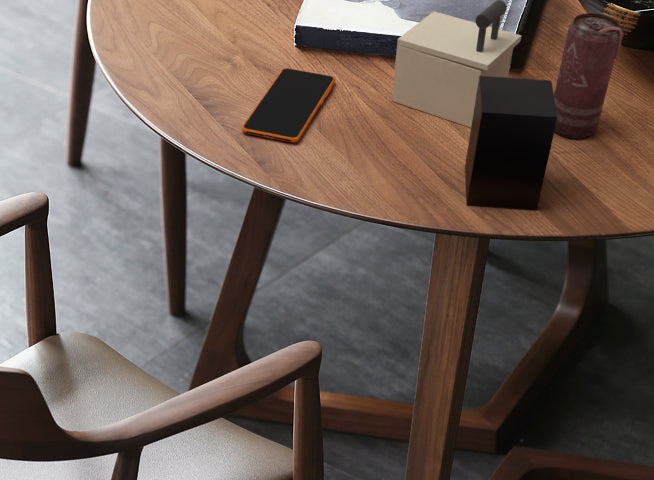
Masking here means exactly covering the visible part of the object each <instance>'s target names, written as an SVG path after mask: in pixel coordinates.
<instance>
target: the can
mask: <svg viewBox="0 0 654 480" xmlns="http://www.w3.org/2000/svg"><path fill="white" fill-rule="evenodd" d="M623 36H624V34H623V29H621V25H620V22H619V21H617V20H616V19H615V18H613V17H611V16H608V15H606V14H602V13H595V12H594V13H593V12H590V13H589V12H588V13H587V12H586V13H581V14H579V15H576V16H575V17H573V20H572V21H571V23H570V24H568V29H567V34H566V38H565V42H564V46H563V47H564V48H563V51H562V56H561V61H560V66H559V71H558V74H557V80H556V84H555V89H554V92H553V94H554V100H555V105H556V111H557V122H556V126H555V131H554V134H556V135H559V136H561V137H563V138H567V139H572V140H581V139H586V138H589V137H591V136H592V135H593V134H594V133H595V132H596V131H598V127H599V123H600V119H601V115H602V111H603V107H604V104H605V100H606V96H607V91H608V88H609V83H610V79H611V75H612V73H613V72H612V71H613V68H614V63H615V60H617V57H618V55H619V52H620V50H621V49H620V48H621V46H622V41H623Z"/></svg>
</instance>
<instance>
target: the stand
mask: <svg viewBox="0 0 654 480" xmlns="http://www.w3.org/2000/svg"><path fill="white" fill-rule="evenodd" d="M556 122H557V111H556V105H555V100H554V89H553V83H552V80H547V79H535V78H520V77H519V78H517V77H508V78H505V77H490V76H479V82H478V88H477V94H476V101H475V107H474V113H473V119H472V126H471V128H470V132H469V139H468V145H467V151H466V158H465V163H464V177H465V178H464V179H465V195H466V196H465V200H466V206H471V207H472V206H474V207H485V208H500V209H513V210H528V211H538V208H539V203H540V199H541V195H542V190H543V185H544V180H545V177H546V176H545V175H546V172H547V166H548V164H549V163H548V162H549V158H550V154H551V149H552V148H551V147H552V144H553V140H554V135H555V132H554V131H555V126H556Z"/></svg>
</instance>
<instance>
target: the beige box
mask: <svg viewBox="0 0 654 480" xmlns="http://www.w3.org/2000/svg"><path fill="white" fill-rule="evenodd" d="M513 50H514V48H512V49H511V50H510V51H509V52H508V53H507V54H506V55H505V56H503V57H502V58H501V59H500V60H499V61H498V62H497V63H496V64H495V65H493V66H492V67H491V68H490V69H489V70H488V71H486V70H482V69H479V68H475V67H472V66H469V65H465V64H462V63H459V62H455V61H452V60H448V59H445V58H442V57H438V56H435V55H431V54H428V53H425V52H421V51H418V50H414V49H411V48H408V47H404V46H401V45H398V44H397V45H396V53H395V54H396V55H395V63H394V75H393V83H392V84H393V85H392V94H391V95H392V96H391V102H393V103H397V104H399V105H402V106H405V107H408V108H411V109H414V110H417V111H420V112H423V113H425V114H429V115H432V116H434V117H438V118H441V119H444V120H447V121H450V122H453V123H454V124H458V125H462V126H464V127H467V128H470V129H471V126H472V119H473V113H474V107H475V101H476V94H477V88H478V82H479V76H490V77H505V78H509V73H510V69H511V62H512V57H513Z"/></svg>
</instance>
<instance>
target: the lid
mask: <svg viewBox="0 0 654 480" xmlns="http://www.w3.org/2000/svg"><path fill="white" fill-rule="evenodd" d="M506 12H507V4H506V2H505V1H504V0H495V1H494V2H492V3H491V4H490V5H489V6H487V7H486V8H485V9H484V10H482V11H481V12H480V13H479V14H478V15H477V16H476V18H475V22H474V21H470V20H467V19H464V18H460V17H456V16H453V15H448V14H445V13H442V12H438V11H431V13H429V14H428V15H427V16H426V17H424V18H423V19H422V20H420V21H419V22H417V23H416V24H415V25H414V26H413V27H412V28H410V29H409V30H407V31H406V32H405V33H403V34H401V36H399V37H398V38H397V42H396V43H397V45H401V46H404V47H408V48H411V49H414V50H418V51H421V52H425V53H428V54H431V55H435V56H438V57H442V58H445V59H448V60H452V61H455V62H459V63H462V64H465V65H469V66H472V67H475V68H479V69H482V70H486V71H488V70H489V69H490V68H491V67H492V66H493V65H495V64H496V63H497V62H498V61H499V60H500V59H501V58H502V57H503V56H505V55H506V54H507V53H508V52H509V51H510V50H511V49H512V48H513V49H514V48H515V47H517V45H518V44H519V43H521V40H522V35H520V34H517V33H514V32H510V31H506V30H503V29H500V24H501V18H502V16H503V15H504V14H505V13H506Z"/></svg>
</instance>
